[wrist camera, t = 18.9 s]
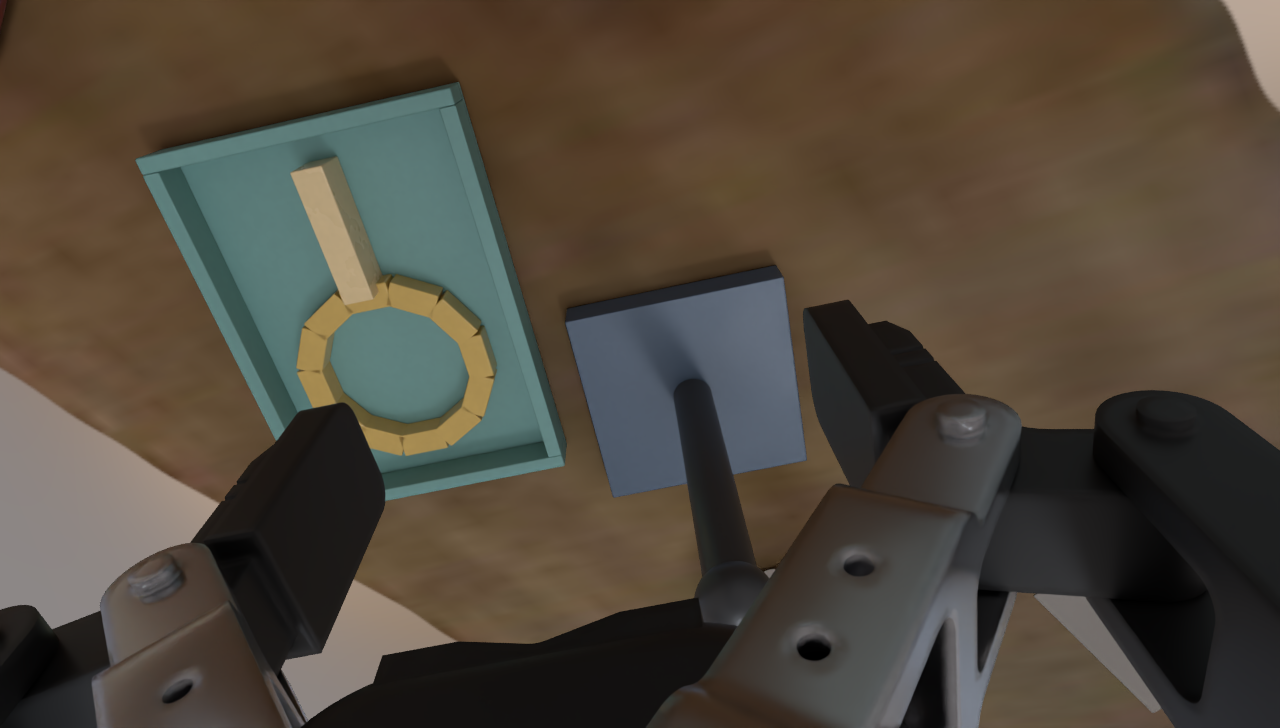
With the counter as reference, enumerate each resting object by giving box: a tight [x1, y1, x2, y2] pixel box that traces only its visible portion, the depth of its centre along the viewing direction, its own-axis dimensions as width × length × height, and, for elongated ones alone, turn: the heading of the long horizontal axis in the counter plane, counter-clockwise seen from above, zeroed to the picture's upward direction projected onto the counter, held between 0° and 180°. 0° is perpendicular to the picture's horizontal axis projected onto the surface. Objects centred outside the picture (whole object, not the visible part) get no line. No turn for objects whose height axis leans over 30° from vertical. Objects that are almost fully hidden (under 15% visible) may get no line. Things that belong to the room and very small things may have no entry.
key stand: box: [565, 265, 807, 626], centre depth 36 cm, size 12×12×20 cm
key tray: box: [136, 82, 567, 501], centre depth 41 cm, size 22×16×2 cm
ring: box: [290, 156, 497, 456], centre depth 41 cm, size 17×11×2 cm, turn 12°
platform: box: [1034, 594, 1162, 713], centre depth 52 cm, size 12×18×7 cm, turn 45°
